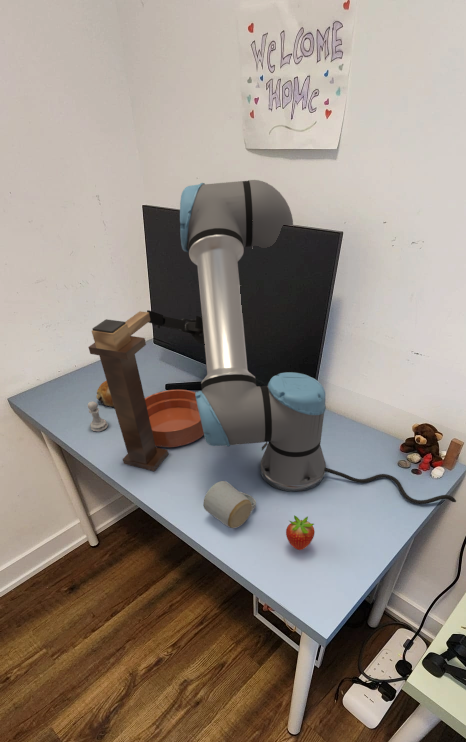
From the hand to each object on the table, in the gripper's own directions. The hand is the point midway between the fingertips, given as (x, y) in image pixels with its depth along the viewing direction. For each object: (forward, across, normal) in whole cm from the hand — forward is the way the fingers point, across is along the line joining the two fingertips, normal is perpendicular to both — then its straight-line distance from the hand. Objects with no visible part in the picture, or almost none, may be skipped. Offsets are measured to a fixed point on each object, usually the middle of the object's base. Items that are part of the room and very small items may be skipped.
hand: (171, 319), depth 102 cm
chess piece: (-1, +20, -30) cm, 36 cm away
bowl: (-7, 0, -27) cm, 28 cm away
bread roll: (-13, +24, -23) cm, 36 cm away
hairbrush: (+18, 0, -6) cm, 19 cm away
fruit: (+18, -44, -41) cm, 63 cm away
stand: (+6, 0, -34) cm, 35 cm away
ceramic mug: (+14, -28, -39) cm, 50 cm away
